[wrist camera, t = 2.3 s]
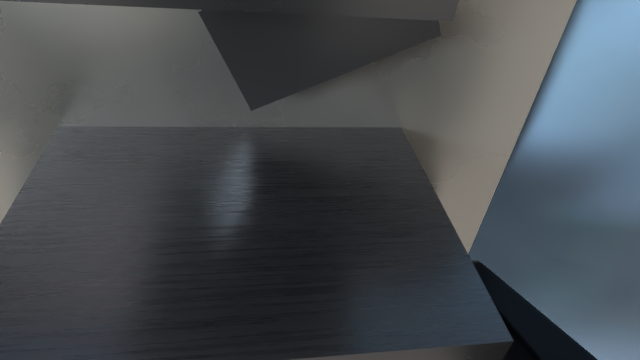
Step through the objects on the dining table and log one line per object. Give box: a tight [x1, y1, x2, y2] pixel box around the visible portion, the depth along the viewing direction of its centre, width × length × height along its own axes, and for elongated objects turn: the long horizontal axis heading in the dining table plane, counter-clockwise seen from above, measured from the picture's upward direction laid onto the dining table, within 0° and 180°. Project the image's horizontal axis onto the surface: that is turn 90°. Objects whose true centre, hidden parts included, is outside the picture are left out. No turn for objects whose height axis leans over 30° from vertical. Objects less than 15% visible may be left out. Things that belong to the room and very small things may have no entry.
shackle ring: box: [0, 126, 514, 360], centre depth 8 cm, size 6×6×4 cm
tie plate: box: [0, 0, 577, 253], centre depth 10 cm, size 13×21×4 cm, turn 175°
